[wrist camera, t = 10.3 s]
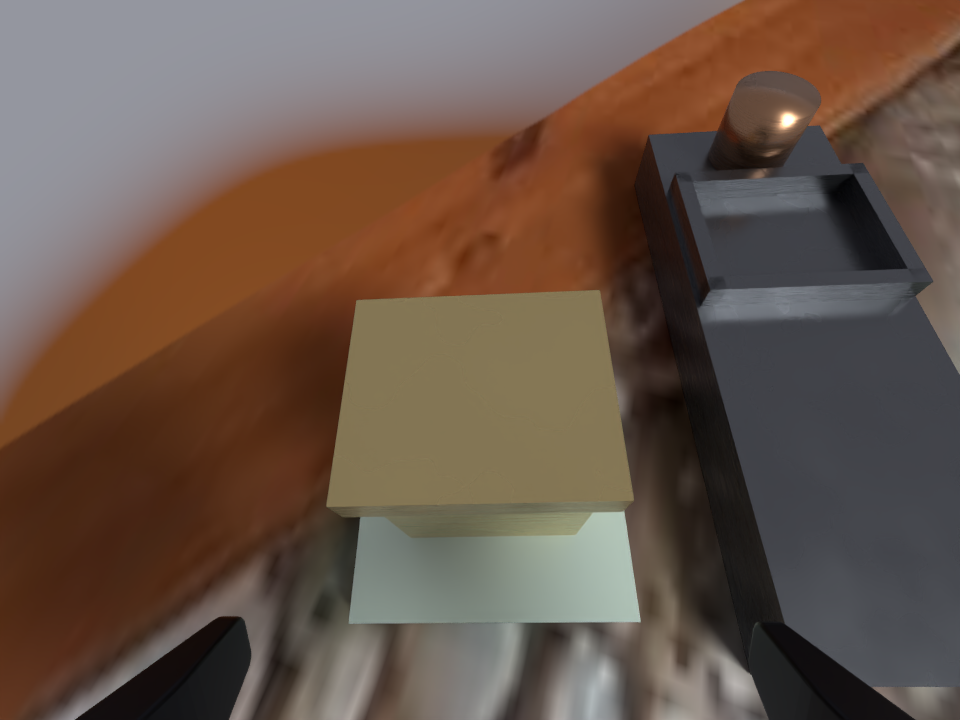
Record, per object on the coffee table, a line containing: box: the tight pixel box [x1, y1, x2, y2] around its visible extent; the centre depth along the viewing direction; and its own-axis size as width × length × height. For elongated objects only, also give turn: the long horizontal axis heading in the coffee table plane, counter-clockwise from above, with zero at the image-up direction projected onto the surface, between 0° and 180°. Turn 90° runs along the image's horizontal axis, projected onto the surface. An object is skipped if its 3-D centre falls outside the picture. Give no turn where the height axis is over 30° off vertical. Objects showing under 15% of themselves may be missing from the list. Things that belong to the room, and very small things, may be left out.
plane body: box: [635, 71, 960, 687], centre depth 17 cm, size 22×8×6 cm, turn 0°
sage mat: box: [349, 511, 641, 624], centre depth 17 cm, size 9×9×2 cm
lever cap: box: [326, 290, 634, 538], centre depth 13 cm, size 5×6×8 cm
